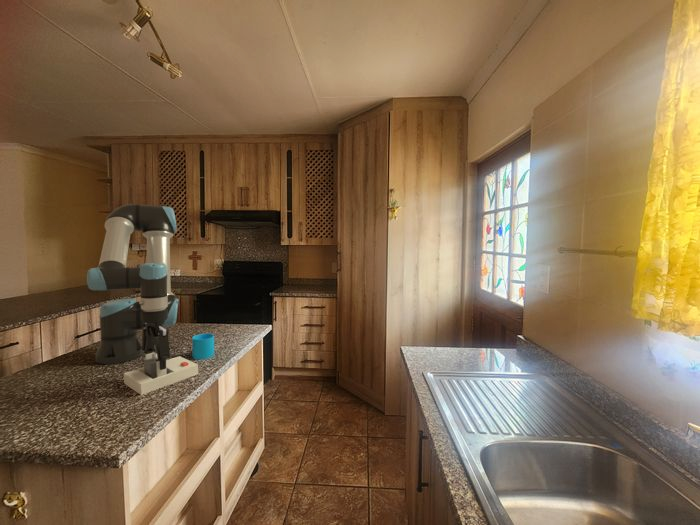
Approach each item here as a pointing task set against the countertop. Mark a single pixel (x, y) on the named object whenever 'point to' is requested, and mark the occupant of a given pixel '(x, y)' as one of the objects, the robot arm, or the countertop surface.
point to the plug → (151, 366)
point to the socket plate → (175, 372)
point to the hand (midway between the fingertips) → (156, 374)
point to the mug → (203, 346)
